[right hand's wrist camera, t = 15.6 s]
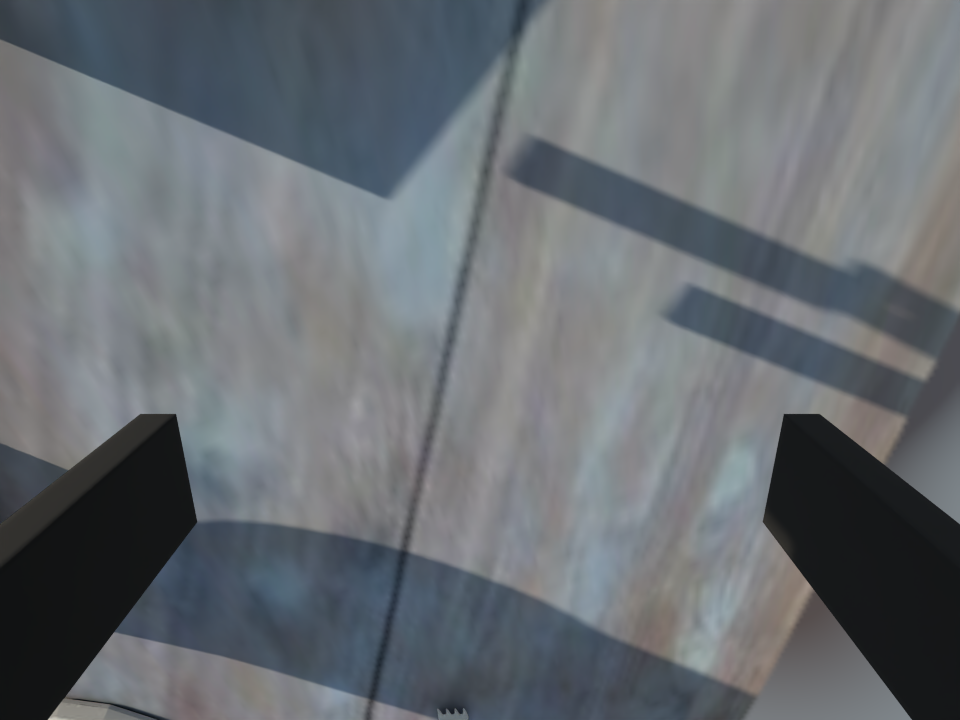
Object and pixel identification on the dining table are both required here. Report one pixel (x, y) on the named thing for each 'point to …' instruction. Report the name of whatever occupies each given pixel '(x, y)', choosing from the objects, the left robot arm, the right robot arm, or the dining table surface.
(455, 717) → the fork
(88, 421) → the dining table surface
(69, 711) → the wall clock
